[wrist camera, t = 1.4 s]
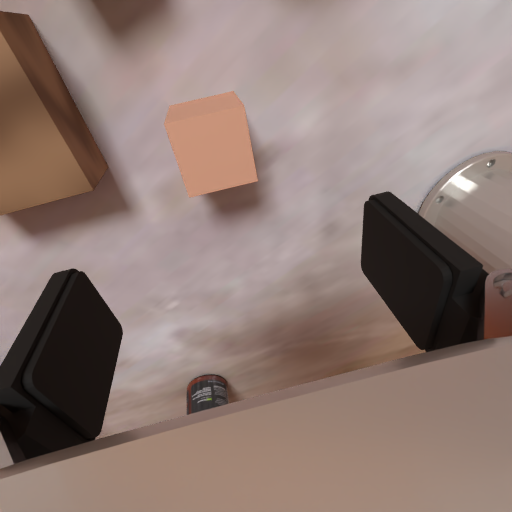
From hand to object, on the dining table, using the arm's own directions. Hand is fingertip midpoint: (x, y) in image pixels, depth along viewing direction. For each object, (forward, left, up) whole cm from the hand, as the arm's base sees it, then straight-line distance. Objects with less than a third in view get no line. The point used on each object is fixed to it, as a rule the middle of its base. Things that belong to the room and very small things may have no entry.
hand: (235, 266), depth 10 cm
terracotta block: (0, 0, -18) cm, 18 cm away
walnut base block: (+4, +14, -18) cm, 23 cm away
